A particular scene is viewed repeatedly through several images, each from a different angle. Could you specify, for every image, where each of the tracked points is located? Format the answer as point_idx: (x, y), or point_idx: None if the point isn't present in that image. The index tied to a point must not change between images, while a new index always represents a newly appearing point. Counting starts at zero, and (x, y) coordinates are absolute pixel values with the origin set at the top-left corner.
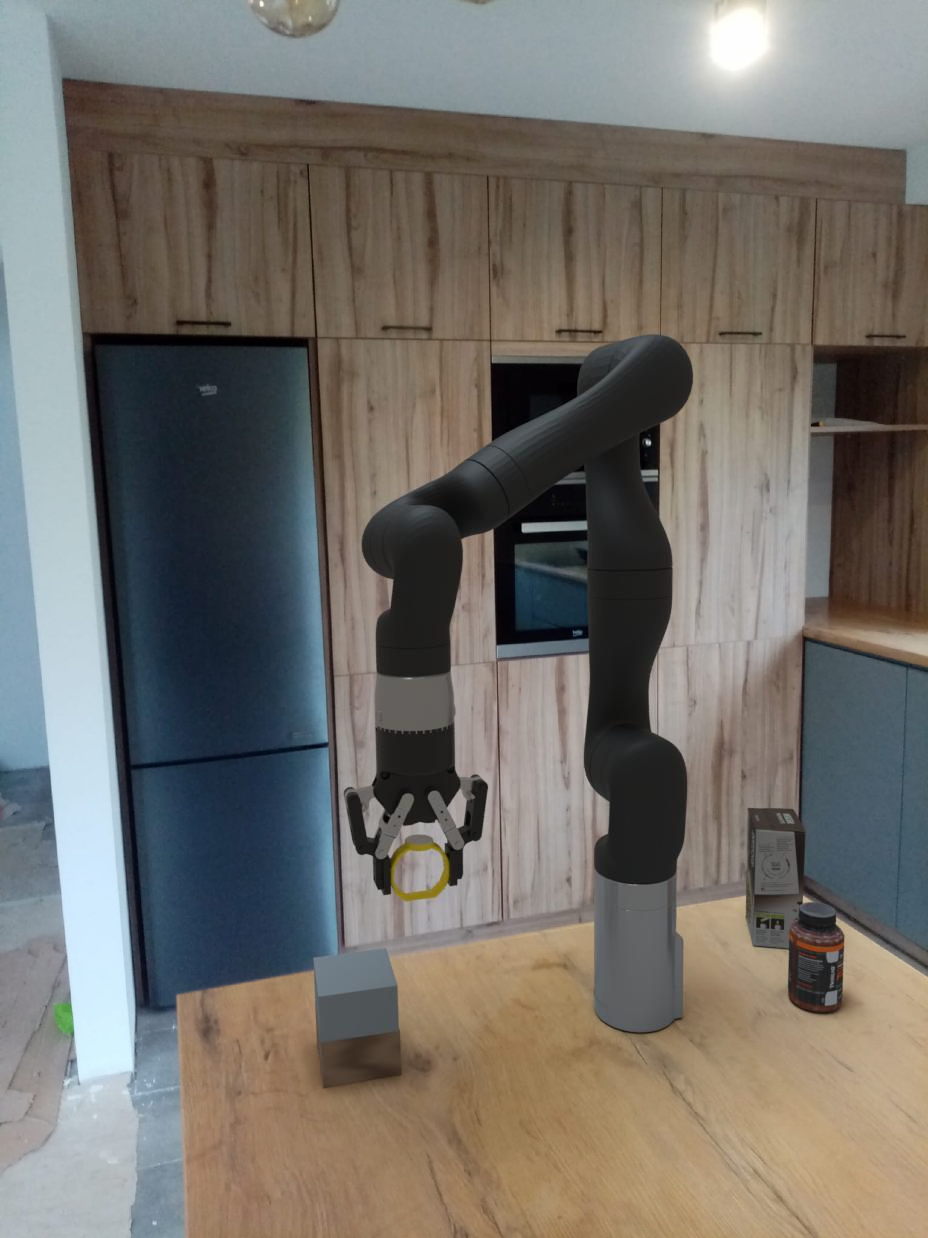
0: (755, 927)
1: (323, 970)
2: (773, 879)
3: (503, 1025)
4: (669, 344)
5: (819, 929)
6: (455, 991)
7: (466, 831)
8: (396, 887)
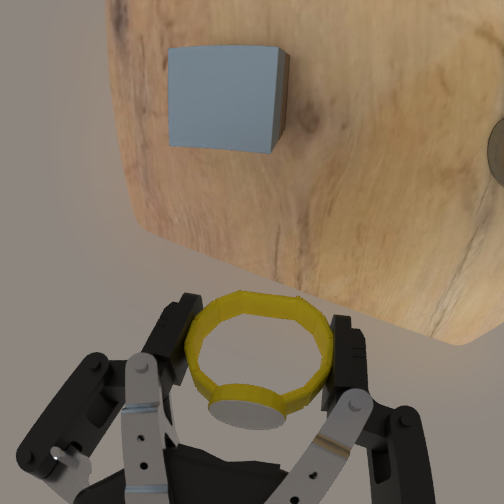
0: None
1: (178, 85)
2: None
3: (410, 100)
4: None
5: None
6: (385, 18)
7: (365, 445)
8: (212, 329)
